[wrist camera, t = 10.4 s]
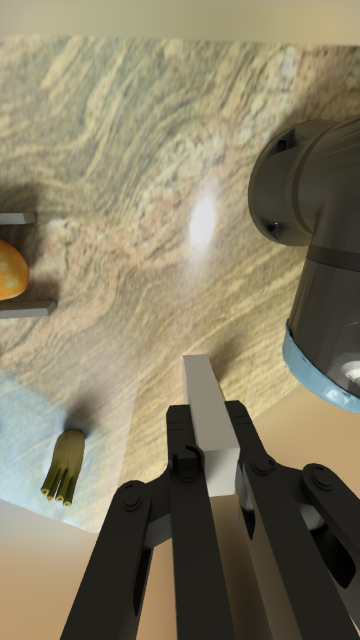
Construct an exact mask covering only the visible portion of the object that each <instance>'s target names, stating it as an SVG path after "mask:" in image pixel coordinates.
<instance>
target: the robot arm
mask: <svg viewBox="0 0 360 640" xmlns="http://www.w3.org/2000/svg"><path fill="white" fill-rule="evenodd" d="M248 205H249V210H250V214H251V217H252V220H253V222H254V224H255V225H256V227H257V228H258V230H259V231H260V232H261V233H262V234H263V235H264V236H265V237H266V238H268V239H269V240H271V241H273V242H276V243H279V244H283V245H287V246H305V245H310V246H309V249H308V253H307V256H306V259H305V263H304V267H303V270H302V274H301V278H300V281H299V285H298V288H297V292H296V295H295V299H294V303H293V306H292V310H291V313H290V317H289V318H288V319H287V321H286V325H285V328H286V333H285V337H284V342H283V347H282V354H283V359H284V361H285V363H286V365H287V366H288V368H289V369H290V372H291V373H292V374H293V376H294V377H295V378H296V379H297V380H298V381H299V382H300V383H301V384H302V385H303V386H305V387H306V388H307V389H308V390H310V391H311V392H313V393H314V394H316V395H317V396H318V397H320V398H322V399H323V400H325V401H327V402H329V403H331V404H333V405H335V406H338V407H340V408H342V409H345V410H348V411H351V412H355V413H360V113H359V114H357V115H355V116H353V117H351V118H349V119H346V120H344V121H342V122H338V121H330V120H311V121H306V122H303V123H300V124H298V125H295V126H293V127H292V128H290V129H288V130H286V131H284V132H283V133H281V134H280V135H278V136H277V137H276V138H275V139H273V140H272V141H271V142H270V143H269V144H268V146H267V147H266V148H265V149H264V150H263V152H262V153H261V155H260V156H259V158H258V160H257V162H256V164H255V166H254V168H253V171H252V174H251V177H250V182H249V188H248ZM183 396H184V403H185V405H171V406H169V409H168V411H167V413H166V423H167V446H168V465H167V468H166V470H165V471H164V473H163V474H162V475H161V476H160V477H158V478H156V479H155V480H153V481H150V482H148V483H146V484H145V483H144V482H141V481H139V480H131V481H128V482H126V483H124V484H123V485H121V486H120V487H119V488H118V489H117V491H116V493H115V494H114V496H113V499H112V501H111V504H110V507H109V509H108V512H107V515H106V517H105V520H104V523H103V525H102V528H101V531H100V533H99V536H98V539H97V541H96V544H95V547H94V549H93V552H92V555H91V557H90V560H89V563H88V566H87V568H86V571H85V573H84V577H83V579H82V582H81V584H80V587H79V590H78V592H77V595H76V598H75V600H74V603H73V605H72V608H71V611H70V613H69V616H68V619H67V622H66V624H65V627H64V629H63V632H62V635H61V637H60V640H136V636H137V631H138V626H139V621H140V616H141V611H142V606H143V600H144V596H145V591H146V586H147V580H148V575H149V570H150V565H151V560H152V555H153V550H154V547H155V546H157V545H159V544H161V543H162V542H164V541H166V540H168V539H170V538H171V537H172V550H173V570H174V588H175V589H174V590H175V609H176V629H177V640H236V638H235V633H234V628H233V622H232V617H231V611H230V606H229V601H228V595H227V590H226V584H225V579H224V574H223V568H222V563H221V558H220V552H219V548H218V542H217V537H216V531H215V526H214V520H213V515H212V510H211V504H210V500H209V497H211V496H221V495H231V494H234V491H235V488H236V491H237V494H238V505H237V513H236V519H237V521H239V520H240V518H241V522H242V525H243V529H244V533H245V536H246V540H247V544H248V547H249V551H250V555H251V559H252V562H253V566H254V570H255V573H256V577H257V581H258V584H259V588H260V592H261V595H262V599H263V603H264V607H265V610H266V614H267V618H268V621H269V625H270V629H271V632H272V636H273V640H360V637H359V635H358V632H357V630H356V628H355V626H354V624H353V622H352V620H353V621H354V623H355V624H356V626H357V627H358V629H359V630H360V499H359V498H358V497H357V496H356V495H355V494H354V493H353V492H352V491H351V490H350V489H349V488H348V487H347V486H346V484H345V483H344V482H343V481H342V480H341V479H340V478H339V477H338V476H337V475H336V474H335V473H334V472H333V471H331V470H330V469H329V468H327V467H325V466H323V465H321V464H316V463H312V464H307V465H306V466H305V467H304V468H303V470H298V469H294V468H290V467H285V466H283V465H280V464H279V463H277V462H276V461H275V460H274V459H273V458H272V457H271V456H269V455H268V454H267V452H266V451H265V449H264V447H263V444H262V442H261V440H260V438H259V436H258V433H257V431H256V429H255V427H254V425H253V422H252V420H251V418H250V416H249V414H248V411H247V409H246V407H245V406H244V405H243V404H242V403H241V402H240V401H239V400H235V401H223V398H222V395H221V392H220V389H219V387H218V384H217V381H216V378H215V375H214V372H213V370H212V367H211V364H210V361H209V358H208V355H207V354H203V355H184V356H183ZM349 615H350V616H351V618H352V620H351V618H350V616H349Z"/></svg>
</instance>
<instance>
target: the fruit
mask: <svg viewBox="0 0 360 640" xmlns="http://www.w3.org/2000/svg"><path fill="white" fill-rule="evenodd" d="M28 283H29V269H28V266H27V264H26V262H25V260H24V258H23V257H22V255H21V254H20V253H19V252H18V251H17V250H16V249H15V248H14V247H13V246H11V245H10V244H8V243H7V242H5V241H3V240H0V300H4V299H9V298H13V297H16V296H18V295H19V294H21V293H22V292H24V291H25V289H26V288H27V286H28Z"/></svg>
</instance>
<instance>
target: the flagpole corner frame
mask: <svg viewBox="0 0 360 640" xmlns="http://www.w3.org/2000/svg"><path fill="white" fill-rule="evenodd" d="M36 222H37V220H36V216H35V213H0V224H28V223H36ZM56 308H57V305H56V301H55V300H43V301H24V302H5V303H0V319H7V318H24V317H41V316H49V315H50V314H51V313H52V312H53V311H54V310H55V309H56Z"/></svg>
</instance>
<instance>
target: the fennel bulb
mask: <svg viewBox="0 0 360 640" xmlns="http://www.w3.org/2000/svg"><path fill="white" fill-rule="evenodd" d="M84 447H85V439H84V435H83V433H82V432H80V431H78V430H70V431H65V432H64V433H62V434H61V435H60V436H59V437H58V439H57V442H56V445H55V448H54V452H53V458H52V462H51V466H50V469H49V471H48V474H47V477H46V479H45V481H44V483H43V486H42V488H41V493H42V494H44V495H47V494H48V495H47V499H48V500H49V501H51V500H52V499H53V497H54V495H55V493H56V490H57V487H58V485H59V487H58V490H57V493H56V496H55V501H63V500H64V501H63V506H70V505H71V503H72V499H73V494H74V490H75V486H76V482H77V479H78V476H79V473H80V470H81V466H82V462H83V454H84ZM60 480H61V481H60ZM59 483H60V484H59ZM48 492H49V493H48Z"/></svg>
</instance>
